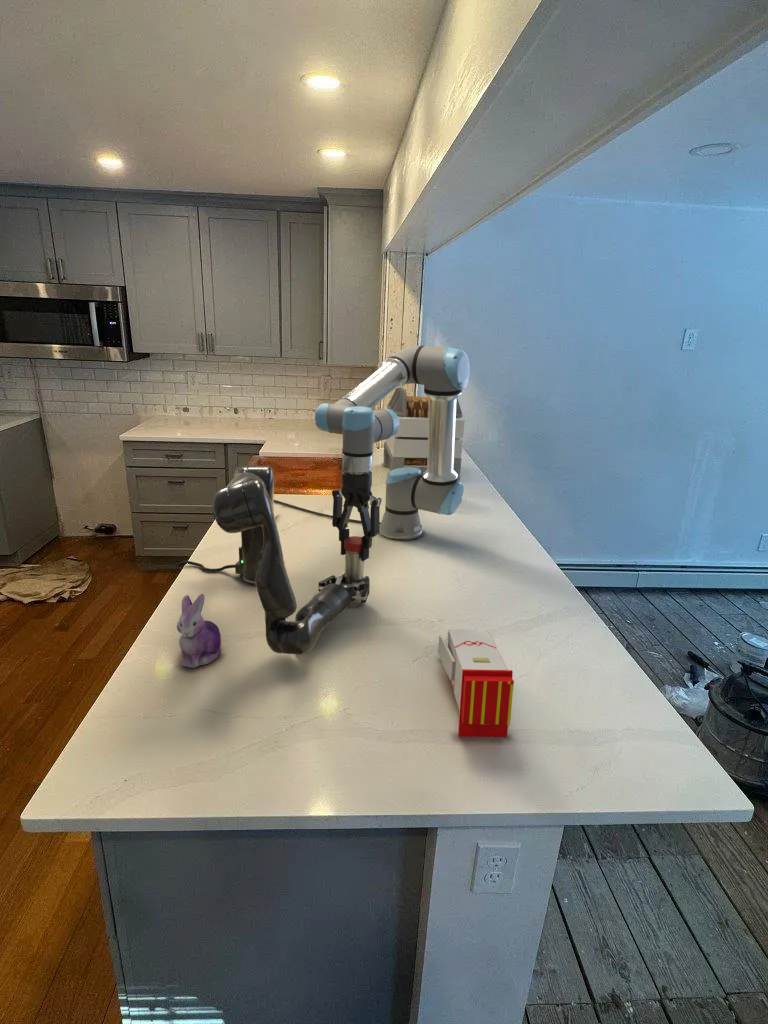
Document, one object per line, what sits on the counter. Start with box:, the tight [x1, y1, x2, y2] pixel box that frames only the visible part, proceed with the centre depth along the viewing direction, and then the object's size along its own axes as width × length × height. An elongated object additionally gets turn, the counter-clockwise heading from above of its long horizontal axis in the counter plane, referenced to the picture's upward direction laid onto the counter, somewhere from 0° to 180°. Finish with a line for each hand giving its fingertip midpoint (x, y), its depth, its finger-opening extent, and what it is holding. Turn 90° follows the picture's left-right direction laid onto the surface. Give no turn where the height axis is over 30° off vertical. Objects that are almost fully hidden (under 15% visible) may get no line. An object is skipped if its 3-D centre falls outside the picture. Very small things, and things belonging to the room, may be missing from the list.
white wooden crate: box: [383, 386, 465, 482], centre depth 268 cm, size 34×33×41 cm
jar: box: [344, 550, 365, 607], centre depth 150 cm, size 5×5×17 cm
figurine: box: [176, 593, 222, 668], centre depth 123 cm, size 9×10×15 cm
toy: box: [437, 628, 515, 738], centre depth 117 cm, size 12×13×30 cm
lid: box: [344, 535, 363, 552], centre depth 147 cm, size 6×6×2 cm
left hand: (358, 577), depth 153 cm, fingers closed on jar, 5 cm apart
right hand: (354, 556), depth 148 cm, fingers closed on lid, 6 cm apart
